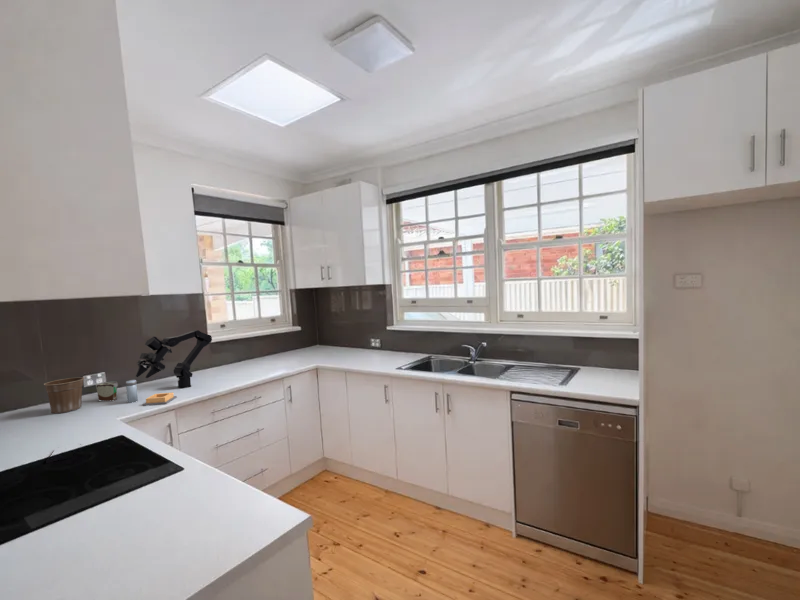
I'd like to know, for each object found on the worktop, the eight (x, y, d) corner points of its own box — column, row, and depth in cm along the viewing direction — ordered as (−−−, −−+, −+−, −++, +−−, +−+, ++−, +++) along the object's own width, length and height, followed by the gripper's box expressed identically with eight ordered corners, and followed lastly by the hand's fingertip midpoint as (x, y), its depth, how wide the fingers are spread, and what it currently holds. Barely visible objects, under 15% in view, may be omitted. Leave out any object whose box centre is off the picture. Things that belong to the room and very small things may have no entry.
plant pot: (52, 408, 203) (50, 379, 203) (90, 403, 210) (87, 375, 210) (40, 417, 189) (38, 386, 188) (81, 411, 196) (78, 381, 195)
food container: (124, 397, 219) (123, 381, 219) (115, 400, 213) (114, 383, 213) (105, 397, 221) (104, 381, 220) (96, 401, 215) (95, 384, 214)
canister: (137, 399, 213) (136, 379, 213) (138, 401, 210) (136, 380, 209) (127, 401, 210) (125, 381, 210) (127, 403, 207) (126, 382, 206)
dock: (154, 399, 213) (154, 393, 213) (176, 397, 214) (176, 391, 214) (142, 405, 201) (142, 399, 201) (166, 404, 202) (166, 397, 202)
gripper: (139, 346, 223) (120, 368, 213) (158, 347, 215) (140, 370, 205) (153, 357, 230) (135, 379, 220) (172, 358, 222) (155, 381, 213)
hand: (141, 377), depth 215 cm, fingers open, 9 cm apart
